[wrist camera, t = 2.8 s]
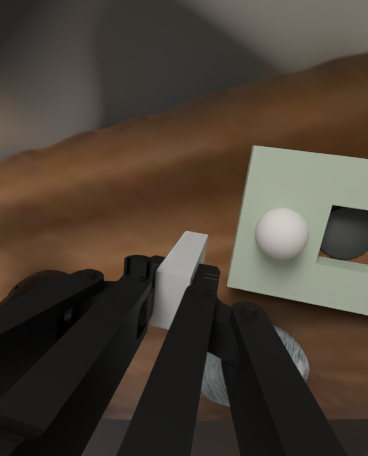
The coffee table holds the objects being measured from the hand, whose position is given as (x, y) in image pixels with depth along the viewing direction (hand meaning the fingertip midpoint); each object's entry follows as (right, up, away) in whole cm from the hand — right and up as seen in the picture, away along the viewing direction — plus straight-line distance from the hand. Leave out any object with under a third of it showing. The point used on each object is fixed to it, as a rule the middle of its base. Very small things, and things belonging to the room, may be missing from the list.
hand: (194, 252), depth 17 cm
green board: (+15, +2, +13) cm, 20 cm away
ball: (+9, +1, +8) cm, 12 cm away
